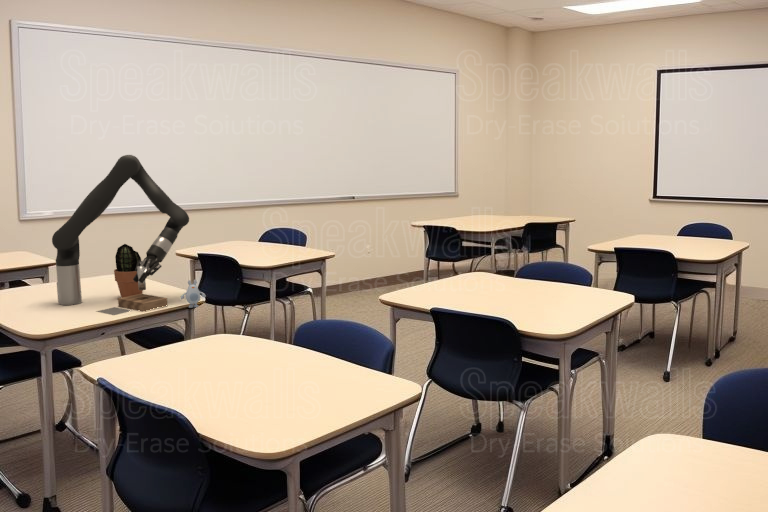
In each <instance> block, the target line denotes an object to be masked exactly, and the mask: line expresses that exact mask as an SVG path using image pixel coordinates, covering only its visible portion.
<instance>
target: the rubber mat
mask: <svg viewBox="0 0 768 512" xmlns="http://www.w3.org/2000/svg"><path fill="white" fill-rule="evenodd" d="M130 310H131V309H127V308H122V307H116V306H114V307H110V308H105V309H100V310H96V311H95V312H97V313H101V314H106V315H112V316H117V315H120V314H125V313H129V311H130ZM130 312H131V311H130Z"/></svg>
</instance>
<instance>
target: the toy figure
mask: <svg viewBox="0 0 768 512" xmlns="http://www.w3.org/2000/svg"><path fill="white" fill-rule="evenodd" d="M197 283H198V281H197V279H194V280H193V283H192V281H191V280H190V279H188V281H187V284H188V287H187V288H186V292H185V293H183V294H182V295H181V296H180V298H179V299H180V301H181V300H183V299H185V300H186V302H187V303H188V304H189V305H188V308H189V309H192V308H199V305H198V303H199V302H200V300H201V297H202V298H203V299H204V298H206V297H207V295H206V294H205V293H204V292H202V291H200V289H199V288H198V286H197Z"/></svg>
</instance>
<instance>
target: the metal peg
mask: <svg viewBox="0 0 768 512" xmlns="http://www.w3.org/2000/svg"><path fill="white" fill-rule="evenodd" d="M144 271H145V266H138V267H137V274H138V280H139V278H140V277H141V275H142V274H143V273H144ZM146 284H147V283H146V280H145V281H144V282H143V283H140V282H139V281H138V289H139V290H143V291H146V290H147V285H146Z"/></svg>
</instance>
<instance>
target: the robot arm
mask: <svg viewBox="0 0 768 512" xmlns="http://www.w3.org/2000/svg"><path fill="white" fill-rule="evenodd" d="M130 179H131V180H133V181H134V183H136V184H137V185H138V186H139V187H140V189H141V190H142V191H143V192H144V194H145V195H146V196H147V198H148V200H149V201H150V202H151V203H152V205H153V206H155V208H157V210H158V211H159V212H160V213H162V214H166V215H167V216H169V218H168V219H167V221H166V224H165V225H164V228H163V229H162V230H161V232H160V233H159V235H158V236H157V237H156V238H155V240H153V242H152V243H151V245H150V247H148V249H147V251H146V253H145V254H146V256H145V258H144V259H141V260H138V262H137V265H136V269H135V271H136V272H137V267H138V266H145V271H144V273H143V274H142V275H141V277H140V278H139V280H138V274H136V275H135V277H134V278H133V280H134V281H135V282H138V281H139V282H140V283H143V282H144V281H145V282H146V279H147V277H149V276H153V275H154V274H156V273H157V272H158V271H159V270H160V269H161V268H162V265H161V264H160V263H162V262H163V261H164V259H165V258H166V257H167V255H168V253H169V252H170V250H171V248H172V247H173V245H174V244H175V241H176V240H177V238H178V235H179V233H180V232H181V230H182V229H183V228H184V227H185V226H187V225H188V224H189V222H190V216H189V214H188V213H187V211H186V210H185V209H183V208H182V207H180V206H179V205H178V204H176V203H175V202H174V201H173V199H171V198H170V197H169V196H168V194H166V192H165V191H164V190H163V189H162V188H161V187H160V186H159V185H158V184H157V183H156V182H155V181H154V180H153V178H152V177H151V176H150V175H149V174H148V172H147V171H146V169H145V168H144V166H143V165H142V163H141V162H140V160H139V158H138V157H136V155H133V154H125V155H121V156H120V157H119V158H118V159H117V160H116V162H115V164H114V165H113V166H112V168H111V170H110V171H109V173H107V176H106V177H104V179H102V180H101V181H100V182H99V183H98V184H97V185H96V186H95V187H94V188H93V189H92V190H90V192H89V193H88V194H87V196H85V198H84V199H83V201H82V202H81V203H80V204H79V206H77V208H76V210H75V211H74V213H73V214H72V215H71V216H70V218H69V219H68V220H67V221H66V222H64V224H63V225H62V226H61V227H59V228H58V229H57V230H55V232H54V233H53V235H52V238H51V242H52V246H53V247H54V248H55V249H56V258H55V266H56V267H55V270H56V280H57V281H56V290H57V291H56V292H57V302H58V304H59V305H60V306H72V305H73V304H74V305H78V304H81V303H82V302H83V299H82V298H83V297H82V284H81V271H80V269H81V268H80V255H81V251H80V238H79V236H80V235H81V234H82V233H83V232H84V230H85V229H86V228H87V227H88V226H89V225H91V224H92V223H93V222H94V221H96V220H97V219H98V218H99V217H100V216H101V215H102V214H103V213H104V212H105V211H106V209H108V207H109V206H110V205H111V204H112V202H113V201H114V199H115V197H116V196H117V194H118V192H119V191H120V189H121V188H122V186H123V185H125V184H126V183H127V182H128V181H129V180H130ZM74 305H73V306H74Z"/></svg>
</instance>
